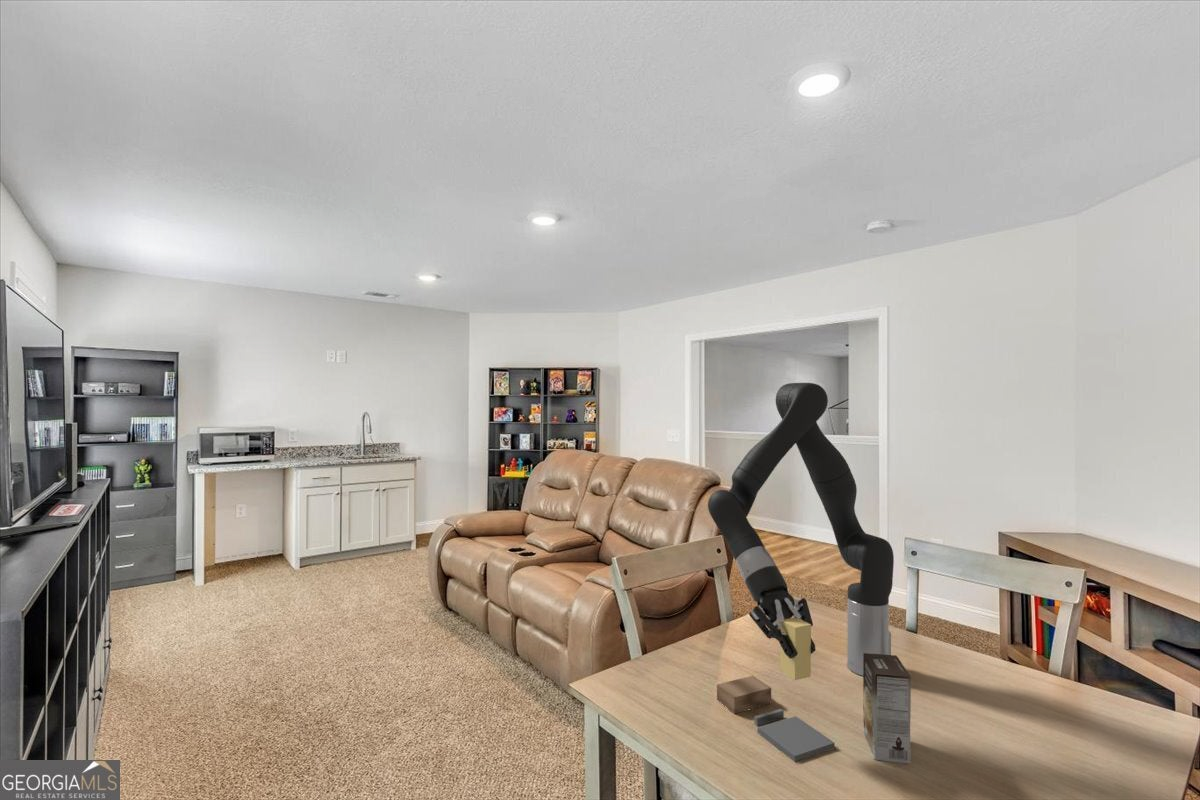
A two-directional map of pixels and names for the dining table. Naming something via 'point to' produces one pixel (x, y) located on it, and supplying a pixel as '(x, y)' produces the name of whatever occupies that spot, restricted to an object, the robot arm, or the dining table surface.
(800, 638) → the pale yellow rectangular prism
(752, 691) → the block
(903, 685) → the coffee box
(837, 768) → the dining table surface
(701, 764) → the dining table surface
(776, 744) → the mat
